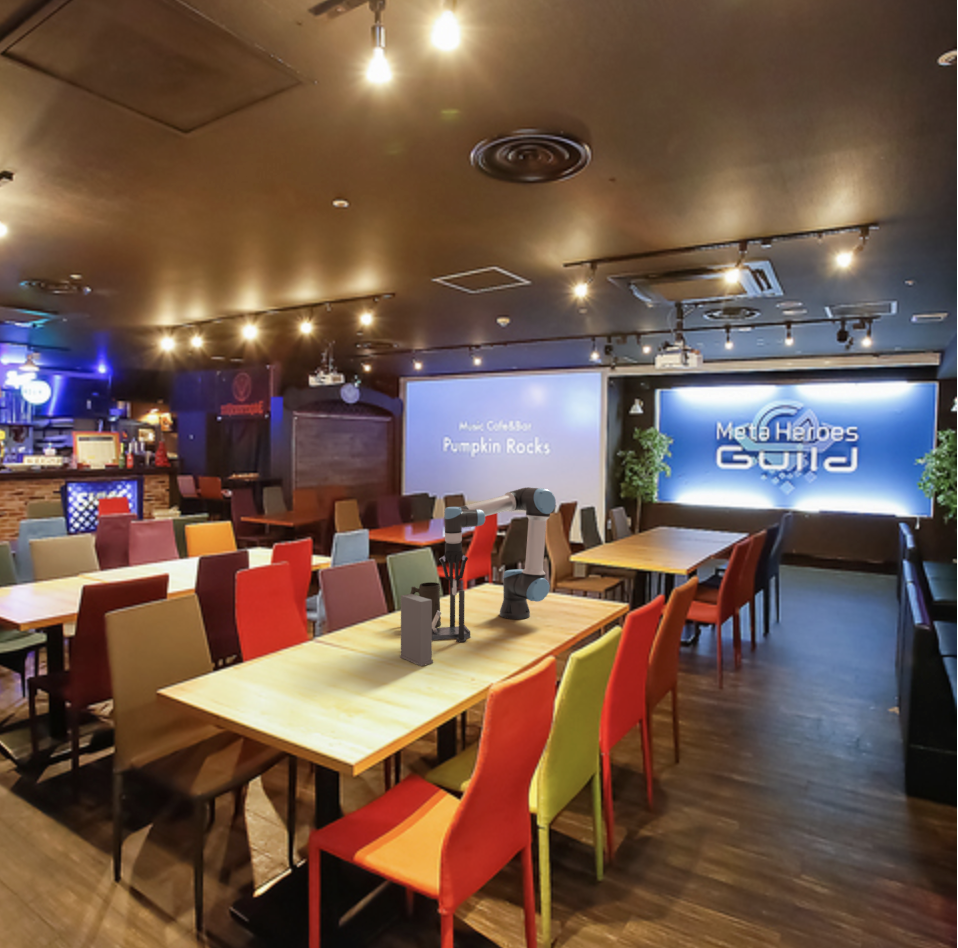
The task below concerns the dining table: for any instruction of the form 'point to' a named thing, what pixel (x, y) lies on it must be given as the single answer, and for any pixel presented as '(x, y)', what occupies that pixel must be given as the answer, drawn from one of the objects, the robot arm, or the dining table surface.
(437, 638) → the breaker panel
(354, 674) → the dining table surface
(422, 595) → the beer stein
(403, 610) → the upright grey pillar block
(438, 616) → the breaker paddle
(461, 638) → the disc
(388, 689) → the dining table surface
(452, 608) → the cable post far
